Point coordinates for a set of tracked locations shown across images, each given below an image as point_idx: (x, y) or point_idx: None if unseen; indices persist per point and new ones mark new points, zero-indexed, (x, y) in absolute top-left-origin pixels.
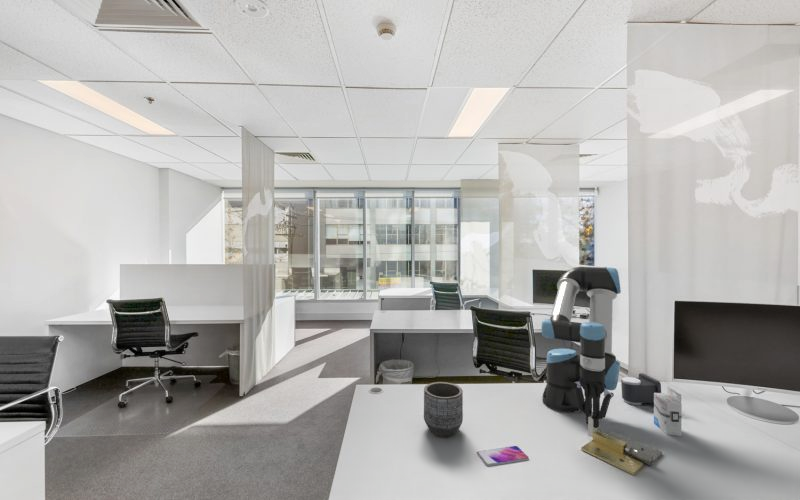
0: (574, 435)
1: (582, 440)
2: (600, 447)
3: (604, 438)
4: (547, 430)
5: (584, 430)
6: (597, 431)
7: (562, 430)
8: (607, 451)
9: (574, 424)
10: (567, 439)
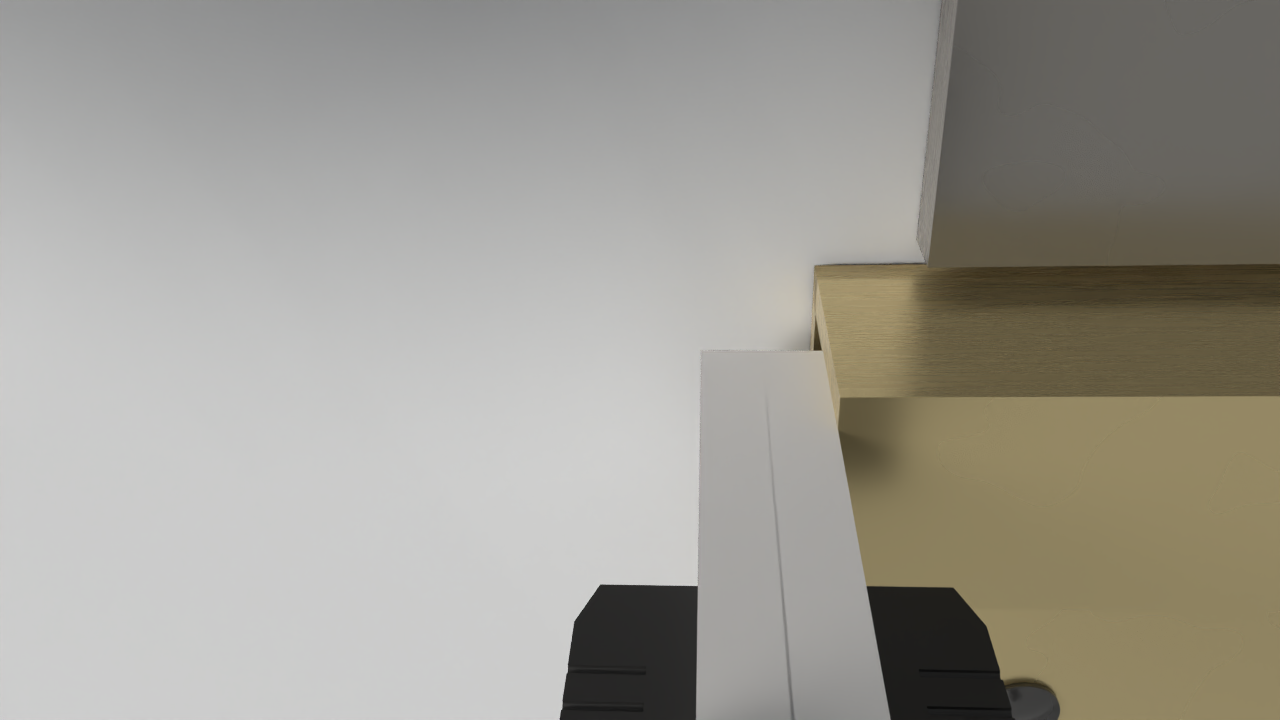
0: (428, 506)
1: (635, 549)
2: (1044, 628)
3: (1136, 597)
4: (72, 713)
5: (387, 102)
6: (887, 466)
7: (171, 521)
8: (1195, 647)
9: (23, 12)
10: (458, 707)
